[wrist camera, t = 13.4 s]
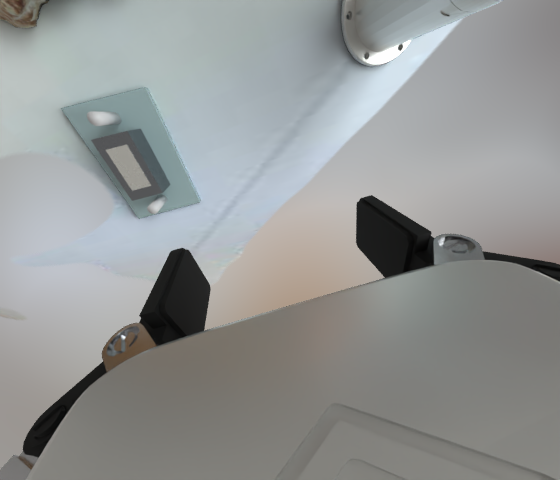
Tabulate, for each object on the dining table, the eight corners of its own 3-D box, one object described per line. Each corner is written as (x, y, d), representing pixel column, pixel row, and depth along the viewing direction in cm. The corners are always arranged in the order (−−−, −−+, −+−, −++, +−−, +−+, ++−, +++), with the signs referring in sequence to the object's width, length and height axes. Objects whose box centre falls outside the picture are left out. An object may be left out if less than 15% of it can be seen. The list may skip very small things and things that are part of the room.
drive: (140, 128, 30) (126, 130, 27) (170, 184, 36) (162, 193, 32) (108, 136, 30) (90, 139, 27) (143, 191, 35) (131, 201, 32)
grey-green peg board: (147, 88, 29) (128, 82, 24) (200, 200, 39) (195, 213, 34) (65, 108, 29) (29, 107, 24) (140, 216, 39) (126, 231, 34)
